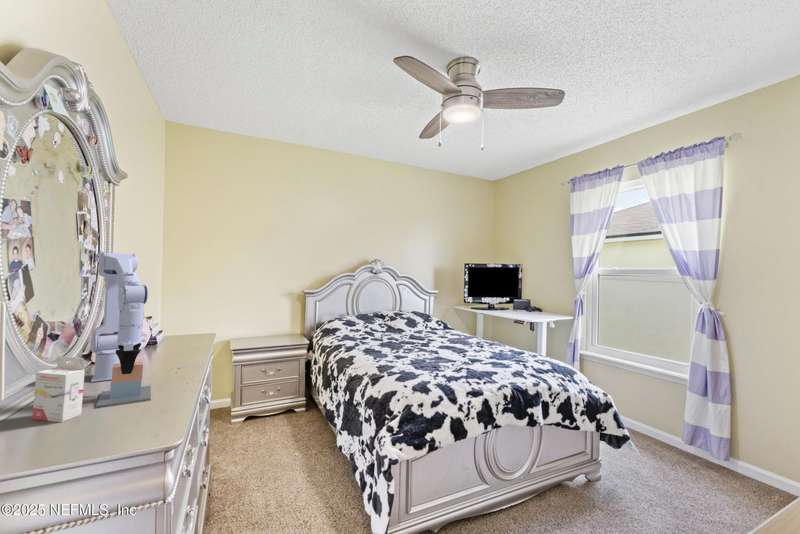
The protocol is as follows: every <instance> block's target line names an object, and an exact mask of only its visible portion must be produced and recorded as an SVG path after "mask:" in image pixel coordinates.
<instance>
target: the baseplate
mask: <svg viewBox="0 0 800 534" xmlns="http://www.w3.org/2000/svg"><path fill="white" fill-rule="evenodd" d="M151 388H152V386H151V385H145V386H142V385H141V393H140V395H137V396H130V397H122V398H115V399H110V390H104V391H103V390H101V392H100V395H99V397H98V400H97V402H96V404H95V408H96V409H99V408H101V409H102V408H105V407H106V408H107V407H113V406H119V405H120V406H121V405H127V404H128V403H129V404H134V403H133V402H136V403H140V402H139V401H142V402H147V401H146V400H149V401H152V399H151V398H152V395H151V394H152V393H151V391H152V389H151Z"/></svg>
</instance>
